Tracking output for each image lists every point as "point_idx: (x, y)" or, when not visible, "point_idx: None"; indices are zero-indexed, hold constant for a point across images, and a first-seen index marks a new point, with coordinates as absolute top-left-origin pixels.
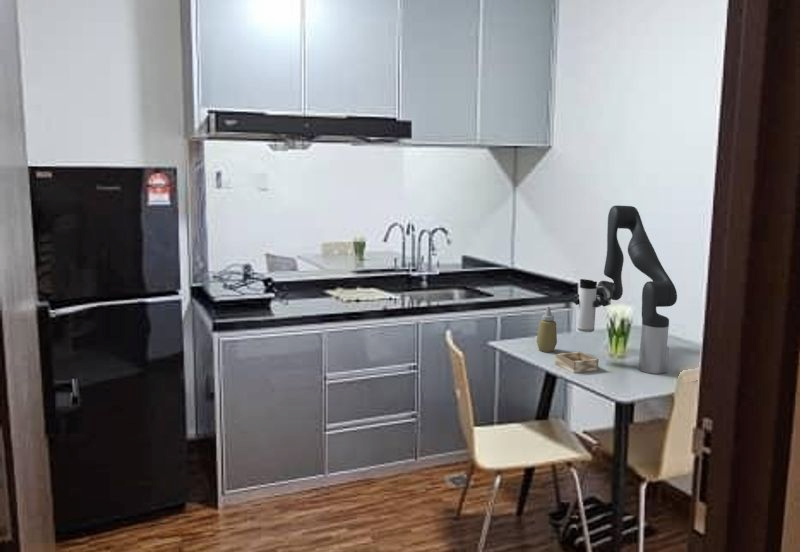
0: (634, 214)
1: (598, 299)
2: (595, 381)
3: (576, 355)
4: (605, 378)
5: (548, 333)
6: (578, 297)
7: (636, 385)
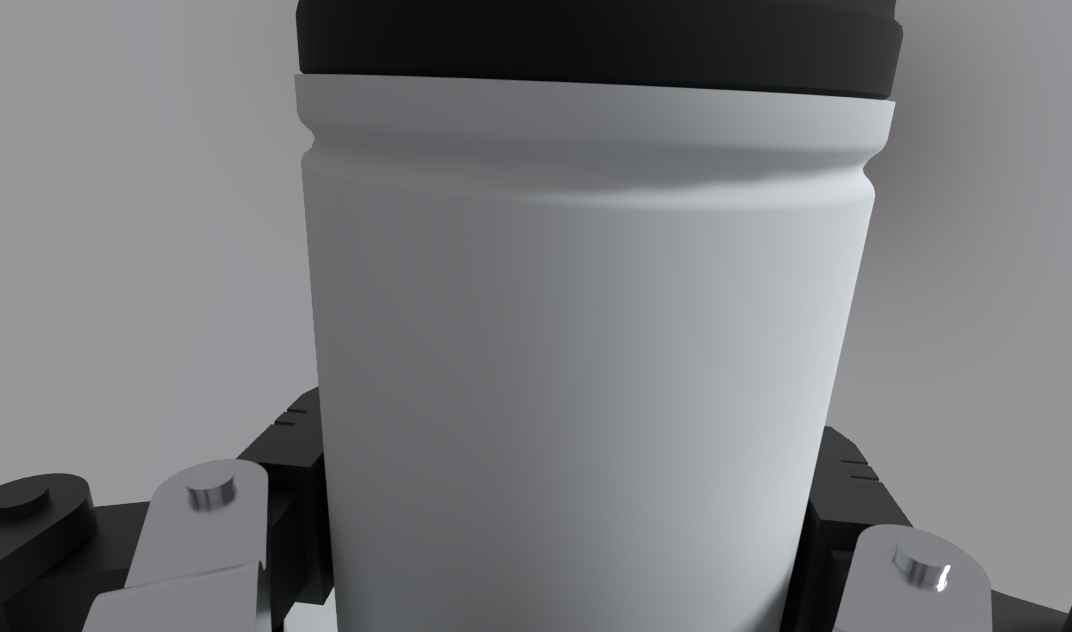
0: None
1: (239, 487)
2: None
3: None
4: (325, 615)
5: None
6: (902, 528)
7: None
